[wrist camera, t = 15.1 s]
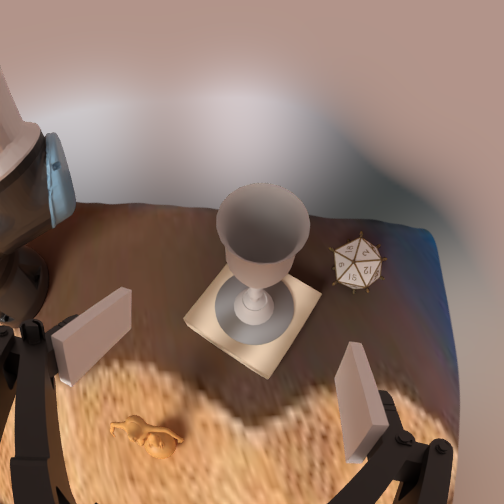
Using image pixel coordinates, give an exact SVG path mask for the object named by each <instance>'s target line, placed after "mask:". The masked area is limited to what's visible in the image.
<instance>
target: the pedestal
mask: <svg viewBox="0 0 504 504" xmlns="http://www.w3.org/2000/svg"><path fill="white" fill-rule="evenodd" d="M247 288H249V287H248V286H246V285H245V284H243V283H242V282H240V281H239V280H238V279H237V278H236V277H235V276H234V274H233V273H232V272H231V271H230V269H229V266H228V264H226V266H225V267H224V268H223V269H222V271H221V272H220V273H219V274H218V276H217V277H216V278H215V279H214V281H213V282H212V283H211V284H210V286H209V287H208V288H207V289H206V291H205V292H204V293H203V294H202V296H201V297H200V298H199V299H198V301H197V302H196V303H195V304H194V306H193V307H192V308H191V309H190V311H189V312H188V313H187V314H186V316H185V317H184V318H183V319H184V321H185V322H186V324H187V325H188V327H190V328H191V329H193V330H194V331H195V332H197V333H198V334H200V335H201V336H202V337H204V338H205V339H207V340H208V341H209V342H211V343H212V344H214V345H215V346H217V347H218V348H220V349H221V350H223V351H224V352H225V353H227V354H228V355H230V356H231V357H233V358H234V359H236V360H237V361H239V362H241V363H242V364H244V365H245V366H247V367H248V368H250V369H251V370H253V371H255V372H256V373H258V374H259V375H261V376H262V377H264V378H266V379H267V380H268V379H269V377H270V376H271V375H272V373H273V372H274V370H275V369H276V367H277V366H278V364H279V363H280V361H281V360H282V358H283V357H284V355H285V353H286V352H287V350H288V349H289V347H290V346H291V344H292V342H293V341H294V339H295V338H296V336H297V334H298V333H299V331H300V330H301V328H302V326H303V325H304V323H305V322H306V320H307V318H308V317H309V315H310V313H311V312H312V310H313V308H314V307H315V305H316V303H317V301H318V300H319V298H320V296H321V295H322V294H321V293H320V292H318V291H316V290H315V289H313V288H311V287H310V286H308V285H306V284H304V283H303V282H301V281H299V280H298V279H296V278H294V277H293V276H291V275H289V274H287V275H286V276H285V277H284V278H283V279H282V280H280V281H279V282H278V283H276V284H274V285H272V286H270V287H267V288H263V290H265V291H266V292H267V293H268V294H269V295H270V296H271V298H272V300H273V302H274V310H273V314H272V315H271V317H270V319H268V320H267V321H266V322H265V323H262V324H260V325H249V324H246V323H244V322H242V321H241V320H240V319H239V318H238V317H237V316H236V313H235V311H234V302H235V299H236V297H237V296H238V294H239V293H240V292H242V291H243V290H245V289H247Z"/></svg>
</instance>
